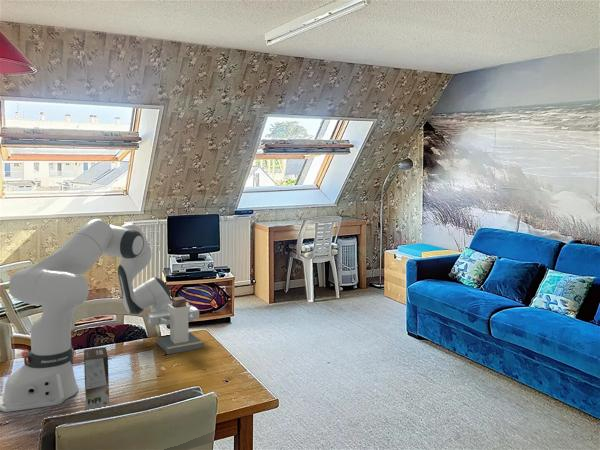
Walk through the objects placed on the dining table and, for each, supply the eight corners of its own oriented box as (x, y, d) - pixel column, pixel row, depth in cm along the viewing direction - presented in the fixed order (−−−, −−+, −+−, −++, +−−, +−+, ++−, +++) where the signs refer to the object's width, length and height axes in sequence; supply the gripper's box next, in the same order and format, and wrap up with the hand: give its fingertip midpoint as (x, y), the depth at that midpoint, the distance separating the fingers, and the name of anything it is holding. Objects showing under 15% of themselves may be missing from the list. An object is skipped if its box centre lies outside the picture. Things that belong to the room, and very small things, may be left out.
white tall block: (174, 344, 200) (173, 308, 199) (168, 339, 206) (168, 304, 204) (190, 341, 204) (189, 306, 202) (184, 336, 209) (184, 302, 208)
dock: (167, 354, 195) (167, 348, 195) (156, 342, 207) (156, 337, 207) (203, 347, 203) (203, 342, 203) (190, 337, 215) (190, 332, 214)
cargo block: (175, 310, 200) (175, 300, 200) (172, 307, 204) (172, 297, 203) (185, 308, 203) (185, 298, 202) (182, 306, 206) (182, 296, 205)
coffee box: (110, 409, 152) (108, 356, 150) (86, 413, 149) (84, 360, 147) (107, 396, 160) (105, 346, 158) (85, 400, 157) (83, 349, 156)
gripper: (143, 308, 209) (153, 317, 197) (191, 301, 220) (204, 310, 208) (143, 323, 210) (153, 333, 198) (191, 316, 220) (204, 325, 209)
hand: (180, 321), depth 203 cm, fingers open, 8 cm apart
